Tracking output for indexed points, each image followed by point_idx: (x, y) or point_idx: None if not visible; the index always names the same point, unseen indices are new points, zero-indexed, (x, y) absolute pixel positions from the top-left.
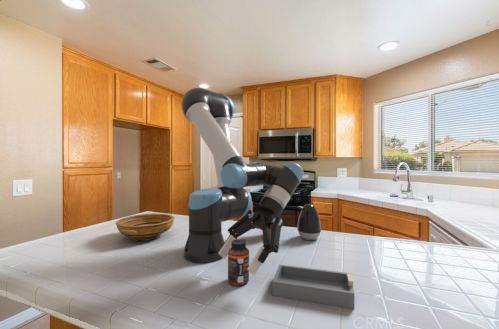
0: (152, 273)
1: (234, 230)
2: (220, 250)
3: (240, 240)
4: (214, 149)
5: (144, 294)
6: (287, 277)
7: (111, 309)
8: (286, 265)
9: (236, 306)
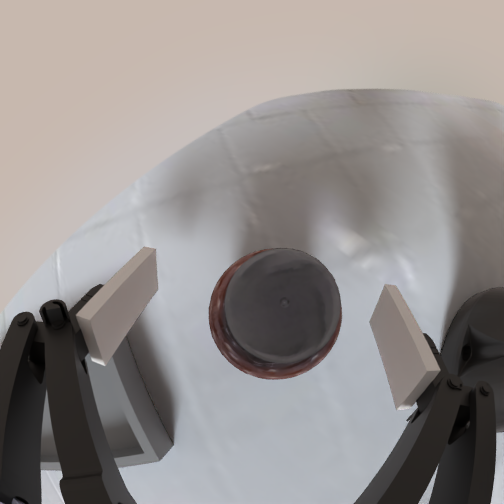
0: (457, 188)
1: (449, 405)
2: (399, 295)
3: (287, 328)
4: None
5: (378, 130)
6: (129, 433)
7: (358, 90)
8: (134, 464)
9: (173, 218)
